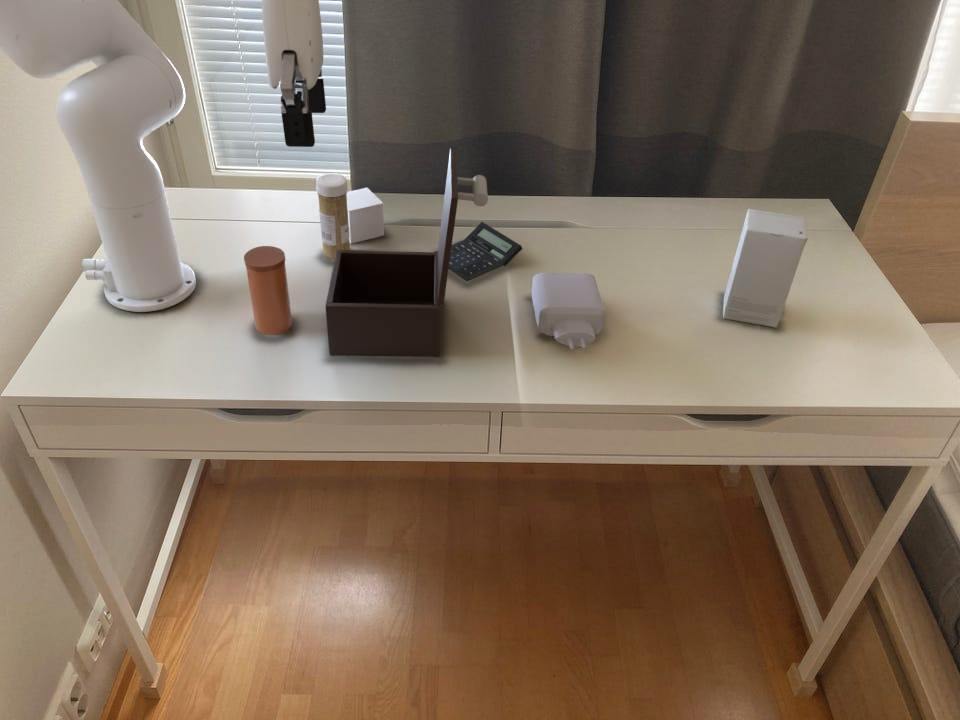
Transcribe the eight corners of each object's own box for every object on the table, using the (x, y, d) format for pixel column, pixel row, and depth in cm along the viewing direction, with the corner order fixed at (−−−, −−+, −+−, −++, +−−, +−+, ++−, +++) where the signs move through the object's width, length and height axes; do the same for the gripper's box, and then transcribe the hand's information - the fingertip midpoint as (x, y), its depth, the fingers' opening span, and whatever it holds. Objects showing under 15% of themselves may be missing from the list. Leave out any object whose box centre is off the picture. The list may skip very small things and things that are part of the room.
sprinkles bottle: (356, 259, 126) (352, 181, 118) (329, 266, 124) (323, 188, 115) (343, 246, 129) (338, 169, 120) (317, 253, 127) (310, 175, 118)
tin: (252, 339, 109) (240, 266, 102) (259, 316, 113) (247, 245, 106) (290, 340, 109) (281, 267, 102) (295, 317, 113) (287, 246, 106)
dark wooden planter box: (329, 359, 107) (325, 306, 101) (339, 300, 117) (336, 249, 112) (439, 361, 108) (440, 308, 102) (439, 303, 118) (440, 252, 112)
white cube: (335, 227, 133) (333, 194, 130) (368, 219, 136) (367, 187, 132) (350, 243, 130) (348, 210, 126) (384, 235, 132) (383, 202, 128)
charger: (542, 362, 109) (530, 298, 120) (608, 362, 109) (591, 299, 121) (545, 334, 106) (533, 272, 117) (614, 334, 106) (595, 273, 118)
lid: (451, 197, 92) (492, 201, 93) (450, 147, 102) (487, 151, 103) (437, 305, 102) (474, 308, 102) (437, 249, 112) (471, 252, 113)
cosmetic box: (776, 306, 122) (808, 216, 112) (777, 331, 117) (810, 239, 107) (721, 295, 123) (748, 205, 114) (719, 319, 119) (747, 227, 109)
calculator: (428, 258, 127) (428, 242, 125) (482, 236, 134) (483, 220, 132) (466, 285, 122) (467, 268, 120) (521, 260, 128) (522, 244, 126)
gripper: (267, -51, 89) (286, 100, 100) (233, -10, 75) (260, 159, 86) (335, -50, 89) (347, 101, 100) (313, -8, 76) (330, 160, 86)
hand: (307, 128), depth 93 cm, fingers open, 9 cm apart
